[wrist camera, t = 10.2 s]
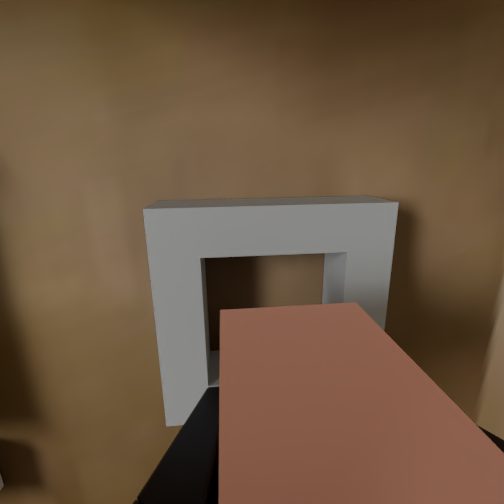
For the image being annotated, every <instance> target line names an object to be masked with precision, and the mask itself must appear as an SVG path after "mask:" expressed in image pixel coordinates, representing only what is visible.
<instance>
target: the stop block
mask: <svg viewBox="0 0 504 504" xmlns="http://www.w3.org/2000/svg"><path fill="white" fill-rule="evenodd" d="M3 486H4V484H3V481H2V478H1V474H0V490H1V489H2V487H3Z"/></svg>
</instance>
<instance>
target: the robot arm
mask: <svg viewBox="0 0 504 504" xmlns="http://www.w3.org/2000/svg"><path fill="white" fill-rule="evenodd" d="M477 426H478V425H477ZM478 427H479V426H478ZM479 428H480V429H481V430H482V431H483V432H484V433H485V434H486V435H487V437H488V438H489V439H490V440H491V441H492V442H493V443H494V444H495V445H496V446H497V447H498V448H499V449H500V450H501V451H502V452H503V453H504V440H502V439H500V438H499V437H497V436H495V435H494V434H492V433H490V432H488V431H486V430H485V429H483V428H481V427H479ZM133 504H219V386H215V387H208V388H207V389H206V391H205V392H204V394H203V395H202V397H201V398H200V400H199V402H198V403H197V405H196V406H195V408H194V409H193V411H192V412H191V414H190V416H189V417H188V419H187V420H186V422H185V423H184V425H183V426H182V428H181V430H180V431H179V433H178V434H177V436H176V437H175V439H174V440H173V442H172V444H171V445H170V447H169V448H168V450H167V451H166V453H165V455H164V456H163V458H162V459H161V461H160V462H159V464H158V465H157V467H156V469H155V470H154V472H153V473H152V475H151V476H150V478H149V479H148V481H147V483H146V484H145V486H144V487H143V489H142V490H141V492H140V493H139V495H138V497H137V500H135V501H134V502H133Z"/></svg>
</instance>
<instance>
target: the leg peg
mask: <svg viewBox="0 0 504 504" xmlns="http://www.w3.org/2000/svg"><path fill="white" fill-rule="evenodd" d="M219 504H504V453H503V452H502V451H501V450H500V449H499V448H498V447H497V446H496V445H495V444H494V443H493V442H492V441H491V440H490V439H489V438H488V437H487V435H486V434H485V433H484V432H483V431H482V430H481V429H480V428H479V427H478V426H477V425H476V424H475V423H474V422H473V421H472V420H471V419H470V418H469V417H468V416H467V415H466V414H465V413H464V412H463V411H462V410H461V409H460V408H459V407H458V406H457V405H456V404H455V403H454V402H453V401H452V400H451V399H450V398H449V397H448V396H447V395H446V394H445V393H444V392H443V391H442V390H441V389H440V388H439V387H438V386H437V384H436V383H435V382H434V381H433V380H432V379H431V378H430V377H429V376H428V375H427V374H426V373H425V372H424V371H423V370H422V369H421V368H420V367H419V366H418V365H417V364H416V363H415V362H414V361H413V360H412V359H411V358H410V357H409V356H408V355H407V354H406V353H405V352H404V351H403V350H402V349H401V348H400V347H399V346H398V345H397V344H396V343H395V342H394V341H393V340H392V339H391V338H390V337H389V336H388V335H387V334H386V332H385V331H384V330H383V329H382V328H381V327H380V326H379V325H378V324H377V323H376V322H375V321H374V320H373V319H372V318H371V317H370V316H369V315H368V314H367V313H366V312H365V311H364V310H363V309H362V308H361V307H360V306H359V305H358V304H357V303H356V302H351V303H334V304H316V305H298V306H281V307H263V308H245V309H227V310H220V379H219Z"/></svg>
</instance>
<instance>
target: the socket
mask: <svg viewBox="0 0 504 504" xmlns="http://www.w3.org/2000/svg"><path fill="white" fill-rule="evenodd" d="M398 204H399V202H395V201H391V200H386V199H382V198H377V197H372V196H328V197H288V198H247V199H206V200H165V201H156V202H154V203H153V204H151V205H149V206H147V207H146V208H144V209H143V214H144V223H145V232H146V242H147V251H148V260H149V269H150V279H151V288H152V297H153V306H154V315H155V325H156V334H157V343H158V352H159V362H160V371H161V380H162V389H163V398H164V408H165V417H166V426H178V425H184V423H185V422H186V420H187V419H188V417H189V416H190V414H191V412H192V411H193V409H194V408H195V406H196V405H197V403H198V402H199V400H200V398H201V397H202V395H203V394H204V392H205V391H206V389H207V388H208V387H215V386H219V379H220V350H217V351H210V339H209V322H208V304H207V287H206V269H205V258H216V257H240V256H265V255H290V254H314V253H325V259H324V278H323V298H322V304H334V303H351V302H356V303H357V304H358V305H359V306H360V307H361V308H362V309H363V310H364V311H365V312H366V313H367V314H368V315H369V316H370V317H371V318H372V319H373V320H374V321H375V322H376V323H377V324H378V325H379V326H380V327H381V328H382V329H383V330H385V321H386V312H387V303H388V294H389V285H390V276H391V267H392V258H393V249H394V240H395V231H396V222H397V213H398Z"/></svg>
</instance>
